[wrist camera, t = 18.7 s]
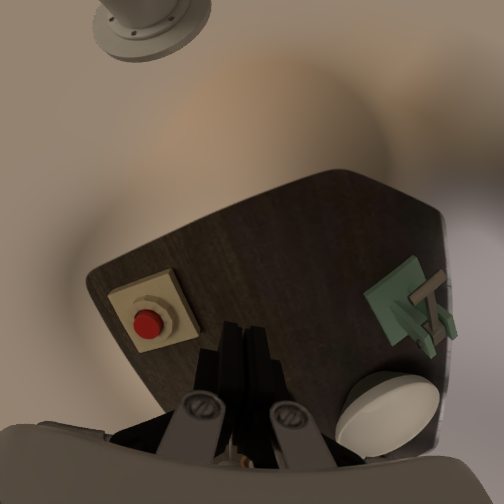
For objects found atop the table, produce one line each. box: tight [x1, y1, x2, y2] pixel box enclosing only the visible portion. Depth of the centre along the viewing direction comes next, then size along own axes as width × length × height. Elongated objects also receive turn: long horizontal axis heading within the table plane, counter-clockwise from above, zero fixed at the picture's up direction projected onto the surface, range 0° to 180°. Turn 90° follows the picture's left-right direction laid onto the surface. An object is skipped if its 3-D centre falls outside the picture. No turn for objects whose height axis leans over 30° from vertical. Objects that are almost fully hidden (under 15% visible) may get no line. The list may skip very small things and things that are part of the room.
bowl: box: [336, 371, 439, 459], centre depth 43 cm, size 20×20×10 cm
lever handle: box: [407, 269, 447, 346], centre depth 30 cm, size 12×5×2 cm, turn 35°
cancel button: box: [133, 310, 162, 339], centre depth 36 cm, size 4×4×2 cm
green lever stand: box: [363, 255, 458, 358], centre depth 36 cm, size 12×10×12 cm
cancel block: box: [108, 268, 200, 353], centre depth 38 cm, size 10×10×4 cm
